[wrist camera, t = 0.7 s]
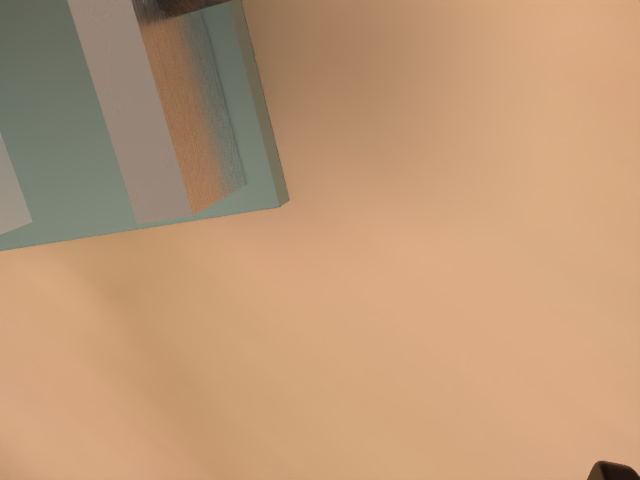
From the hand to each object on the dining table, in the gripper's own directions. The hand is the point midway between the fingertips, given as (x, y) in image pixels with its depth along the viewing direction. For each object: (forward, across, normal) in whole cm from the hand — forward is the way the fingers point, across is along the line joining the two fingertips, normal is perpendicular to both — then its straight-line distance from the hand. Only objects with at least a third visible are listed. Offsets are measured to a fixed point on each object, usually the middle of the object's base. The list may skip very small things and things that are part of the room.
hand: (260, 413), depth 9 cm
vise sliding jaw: (+14, +6, -3) cm, 16 cm away
